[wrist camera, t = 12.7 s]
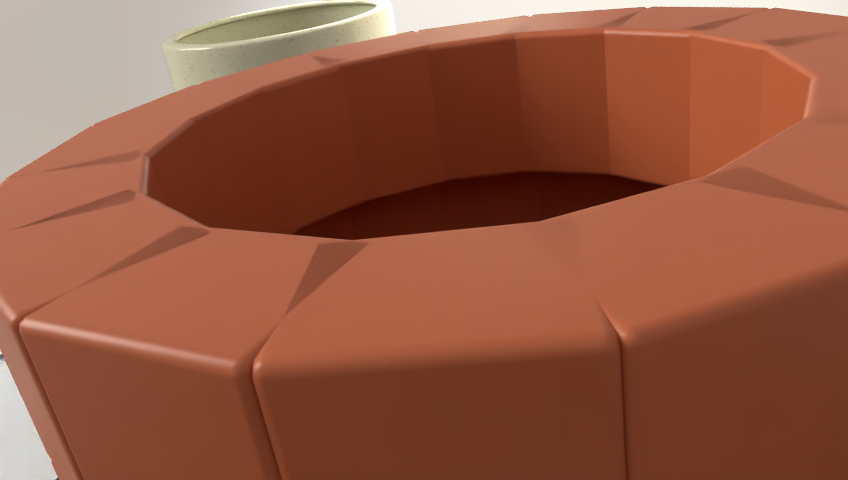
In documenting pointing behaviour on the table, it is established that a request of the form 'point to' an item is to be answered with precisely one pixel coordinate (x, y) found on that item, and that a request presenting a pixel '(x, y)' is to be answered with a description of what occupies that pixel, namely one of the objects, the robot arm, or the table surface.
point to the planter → (271, 37)
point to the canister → (453, 260)
